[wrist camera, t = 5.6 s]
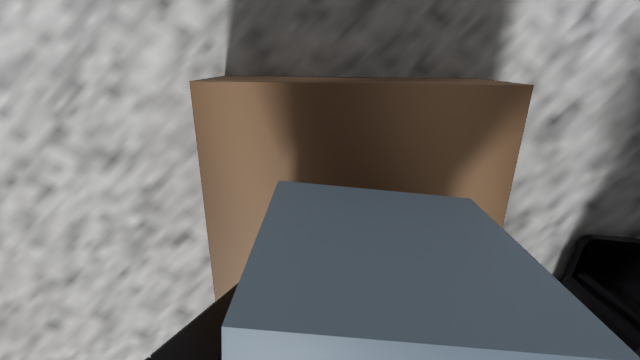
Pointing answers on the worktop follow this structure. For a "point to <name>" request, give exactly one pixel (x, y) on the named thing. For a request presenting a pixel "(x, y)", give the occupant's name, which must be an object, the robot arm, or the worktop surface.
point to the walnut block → (348, 145)
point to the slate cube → (400, 285)
